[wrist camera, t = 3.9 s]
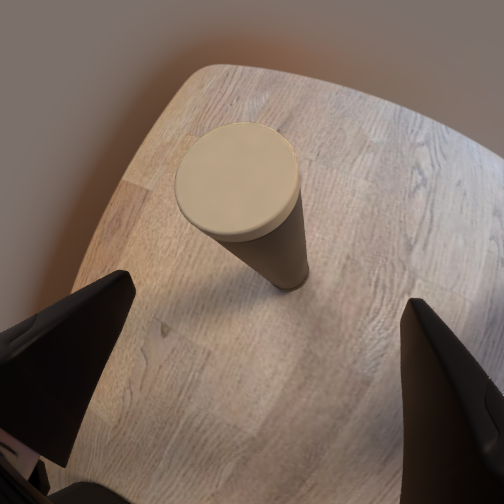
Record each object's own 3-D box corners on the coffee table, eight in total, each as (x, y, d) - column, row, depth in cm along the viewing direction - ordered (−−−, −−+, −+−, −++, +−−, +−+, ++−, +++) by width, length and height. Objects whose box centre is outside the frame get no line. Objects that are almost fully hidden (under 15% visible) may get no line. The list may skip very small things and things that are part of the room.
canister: (290, 299, 17) (234, 266, 5) (261, 273, 18) (150, 186, 5) (316, 269, 17) (328, 160, 5) (287, 243, 18) (232, 103, 5)
